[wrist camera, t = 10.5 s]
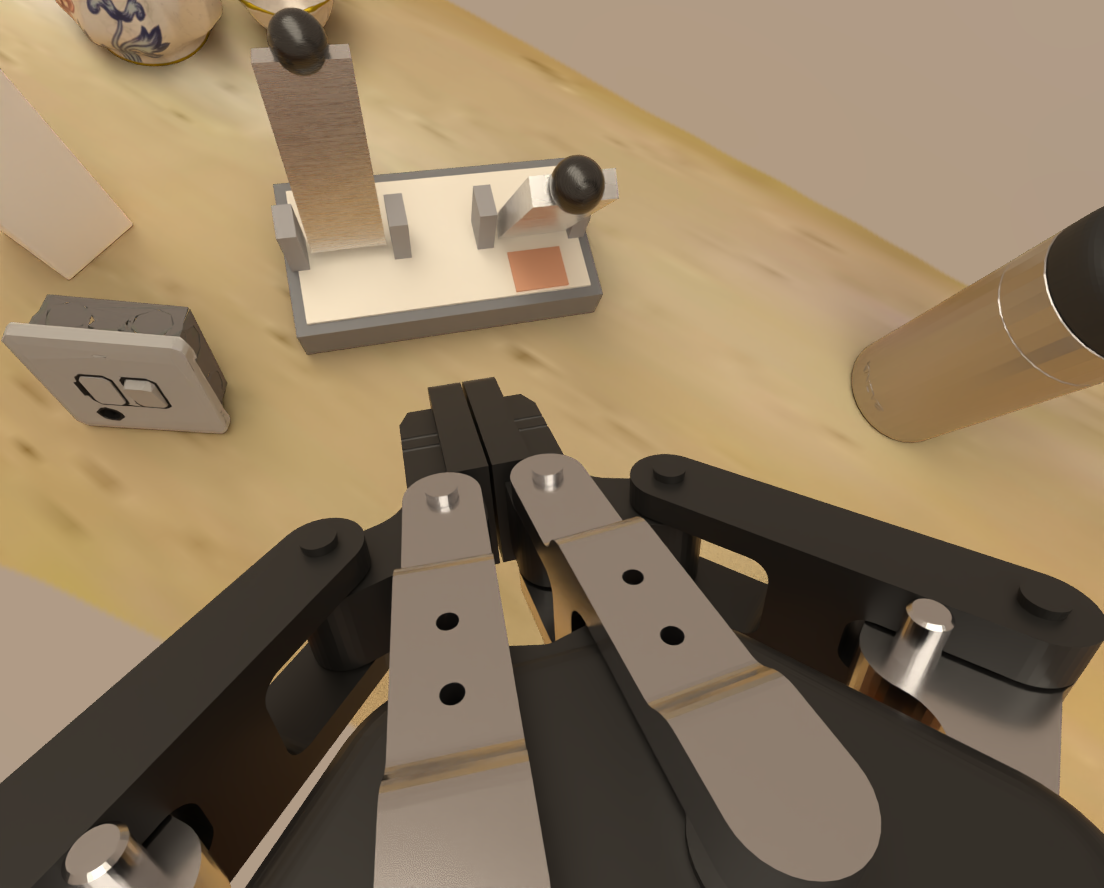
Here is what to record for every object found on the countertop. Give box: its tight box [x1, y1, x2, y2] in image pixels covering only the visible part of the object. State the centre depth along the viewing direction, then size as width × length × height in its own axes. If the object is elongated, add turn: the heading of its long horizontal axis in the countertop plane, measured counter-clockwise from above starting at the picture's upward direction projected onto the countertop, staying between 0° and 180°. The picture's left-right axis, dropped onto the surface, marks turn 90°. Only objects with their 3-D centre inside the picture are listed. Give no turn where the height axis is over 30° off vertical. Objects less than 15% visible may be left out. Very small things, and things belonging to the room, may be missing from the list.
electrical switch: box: [1, 294, 230, 433], centre depth 37 cm, size 9×5×9 cm, turn 88°
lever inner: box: [496, 155, 619, 239], centre depth 38 cm, size 5×3×14 cm, turn 103°
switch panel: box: [271, 158, 603, 354], centre depth 44 cm, size 22×12×7 cm, turn 103°
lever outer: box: [251, 7, 386, 253], centre depth 36 cm, size 5×3×14 cm, turn 103°
